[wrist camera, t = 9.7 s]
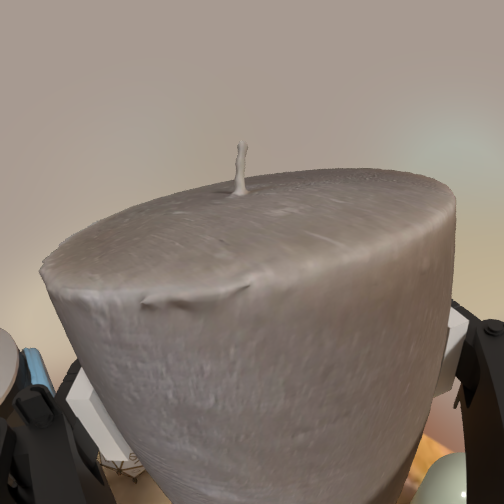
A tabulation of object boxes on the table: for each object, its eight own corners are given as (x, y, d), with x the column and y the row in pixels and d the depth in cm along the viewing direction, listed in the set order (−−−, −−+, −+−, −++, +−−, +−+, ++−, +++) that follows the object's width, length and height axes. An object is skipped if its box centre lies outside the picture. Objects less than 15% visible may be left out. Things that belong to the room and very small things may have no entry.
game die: (143, 470, 35) (126, 406, 38) (183, 478, 31) (164, 406, 34) (91, 485, 28) (71, 414, 31) (127, 501, 24) (103, 418, 27)
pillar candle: (362, 407, 16) (352, 130, 12) (419, 544, 7) (564, 124, 2) (199, 435, 16) (114, 172, 12) (189, 583, 7) (-88, 239, 3)
